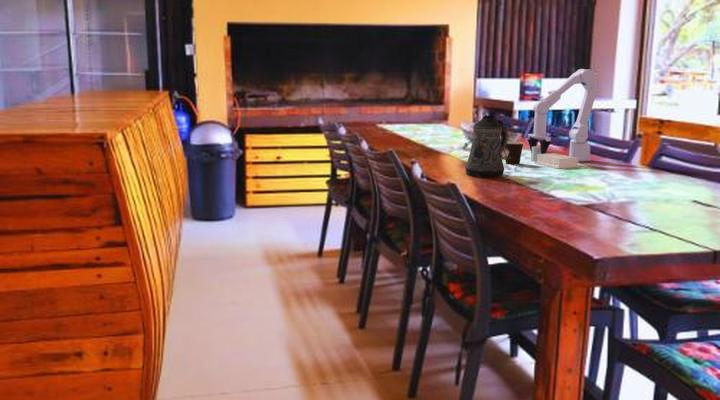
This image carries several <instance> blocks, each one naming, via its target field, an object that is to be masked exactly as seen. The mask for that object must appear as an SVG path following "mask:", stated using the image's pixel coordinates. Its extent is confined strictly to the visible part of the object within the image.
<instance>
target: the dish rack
mask: <svg viewBox="0 0 720 400" xmlns="http://www.w3.org/2000/svg"><path fill="white" fill-rule="evenodd" d="M578 163H579V162H578V157H573V156H569V155H568V154H564V155H563V154H562V153H557V152H552V153H546V154H538V155H537V161H534V164H536V165H540V166H543V165H544V167H547V166H549V167H548V168H552V167H553V169H556V168H557V170H558V169H560V168H561V169H572V168H573V167H574V168H580V167H581V166H580V164H578ZM574 168H573V169H574Z"/></svg>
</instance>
